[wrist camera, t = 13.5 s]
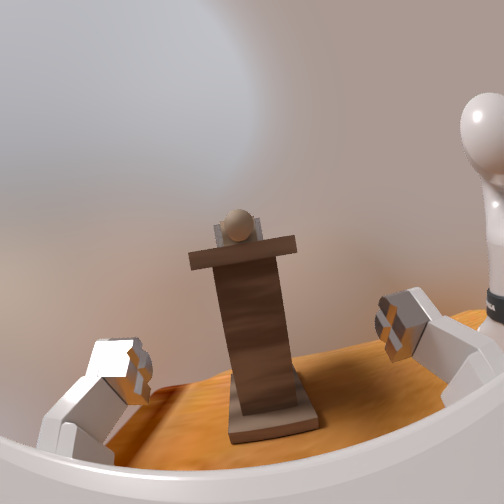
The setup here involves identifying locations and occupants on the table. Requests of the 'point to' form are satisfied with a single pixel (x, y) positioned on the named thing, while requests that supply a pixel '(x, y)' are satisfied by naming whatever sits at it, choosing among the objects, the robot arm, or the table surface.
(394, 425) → the table surface
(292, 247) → the walnut stand
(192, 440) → the table surface
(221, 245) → the cup bracket
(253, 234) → the ash rail
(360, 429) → the table surface
